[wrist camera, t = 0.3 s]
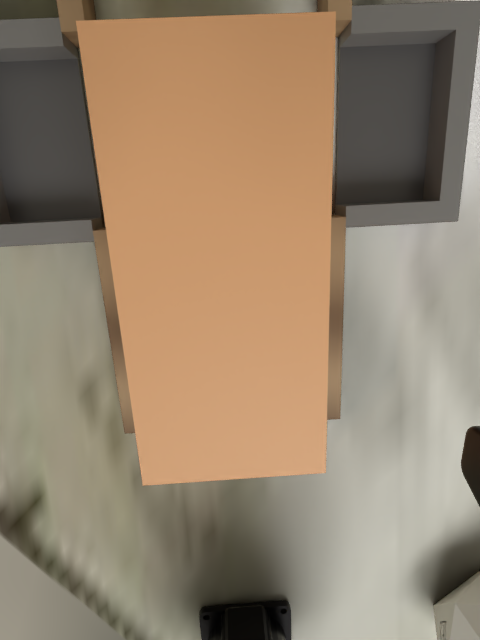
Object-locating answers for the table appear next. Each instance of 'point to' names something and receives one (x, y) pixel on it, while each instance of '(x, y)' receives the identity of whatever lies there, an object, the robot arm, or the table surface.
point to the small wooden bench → (73, 7)
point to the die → (460, 612)
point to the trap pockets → (351, 137)
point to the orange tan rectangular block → (219, 234)
